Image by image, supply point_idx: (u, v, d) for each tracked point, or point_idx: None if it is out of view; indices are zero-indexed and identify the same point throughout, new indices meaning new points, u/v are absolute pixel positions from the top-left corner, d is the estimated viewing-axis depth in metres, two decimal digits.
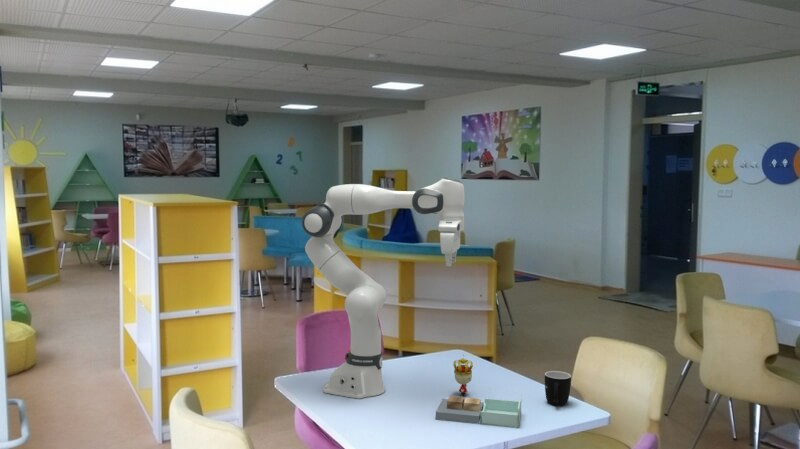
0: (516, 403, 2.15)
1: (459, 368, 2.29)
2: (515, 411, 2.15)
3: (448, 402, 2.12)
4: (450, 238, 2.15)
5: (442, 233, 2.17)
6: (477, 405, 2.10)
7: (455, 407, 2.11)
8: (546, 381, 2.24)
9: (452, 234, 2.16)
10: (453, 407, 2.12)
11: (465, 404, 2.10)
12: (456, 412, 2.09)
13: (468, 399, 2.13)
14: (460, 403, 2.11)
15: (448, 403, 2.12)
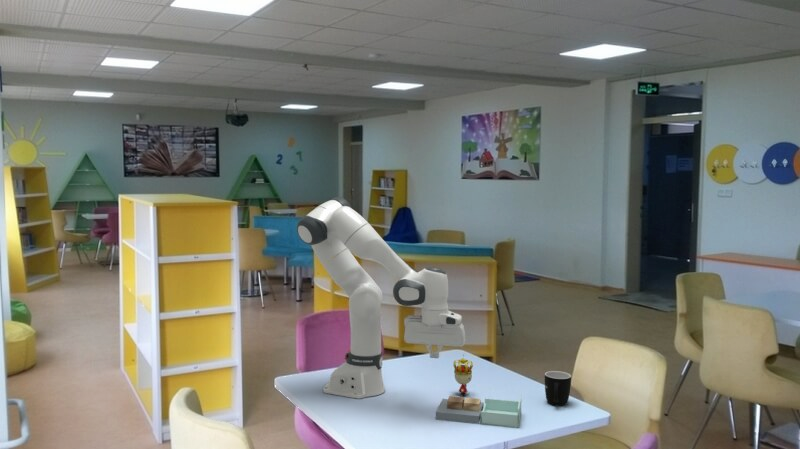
0: (516, 403, 2.15)
1: (459, 368, 2.29)
2: (515, 411, 2.15)
3: (448, 402, 2.12)
4: None
5: (460, 326, 2.10)
6: (477, 405, 2.10)
7: (455, 407, 2.11)
8: (546, 381, 2.24)
9: (462, 324, 2.13)
10: (453, 407, 2.12)
11: (465, 404, 2.10)
12: (456, 412, 2.09)
13: (468, 399, 2.13)
14: (460, 403, 2.11)
15: (448, 403, 2.12)
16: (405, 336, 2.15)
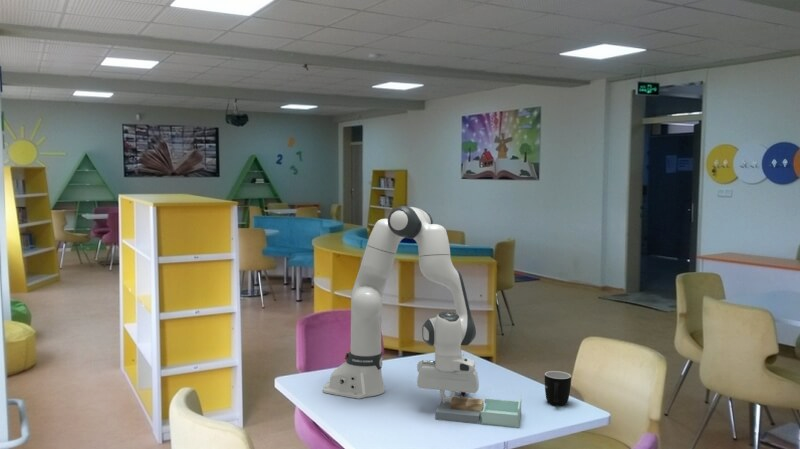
0: (516, 403, 2.15)
1: None
2: (515, 411, 2.15)
3: (452, 402, 2.12)
4: (477, 374, 2.13)
5: (473, 372, 2.10)
6: (479, 405, 2.09)
7: (459, 407, 2.11)
8: (546, 381, 2.24)
9: (475, 370, 2.13)
10: (456, 407, 2.11)
11: (467, 404, 2.10)
12: (456, 412, 2.09)
13: (470, 400, 2.13)
14: (464, 403, 2.11)
15: (452, 403, 2.12)
16: (418, 381, 2.14)
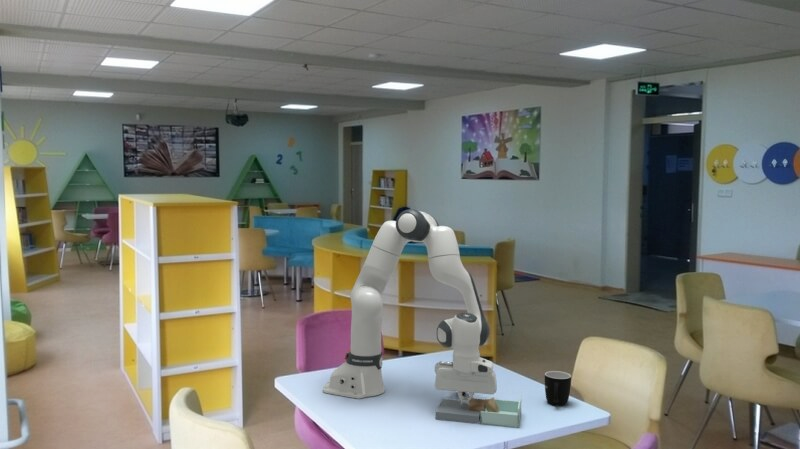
0: (516, 403, 2.15)
1: None
2: (515, 411, 2.15)
3: (470, 404, 2.10)
4: (495, 375, 2.11)
5: (492, 373, 2.09)
6: None
7: (477, 409, 2.10)
8: (546, 381, 2.24)
9: (493, 371, 2.12)
10: (475, 409, 2.10)
11: (491, 404, 2.08)
12: (456, 412, 2.09)
13: (494, 402, 2.11)
14: (482, 405, 2.09)
15: (470, 405, 2.10)
16: (436, 383, 2.13)
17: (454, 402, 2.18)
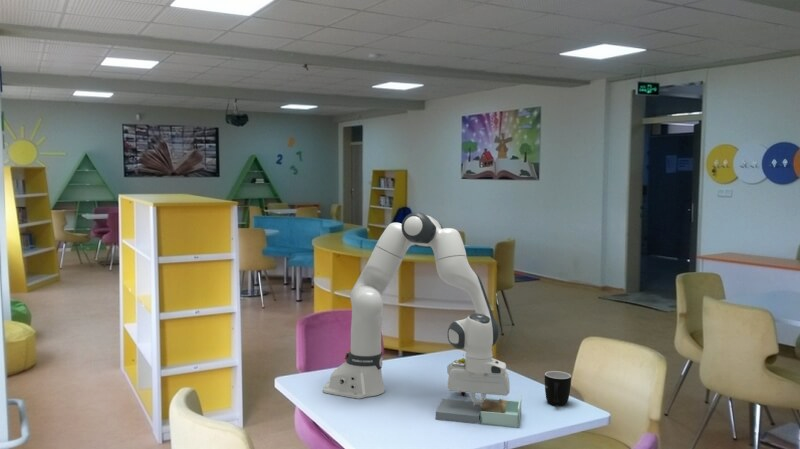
0: (516, 403, 2.15)
1: None
2: (515, 411, 2.15)
3: (483, 405, 2.09)
4: (508, 377, 2.10)
5: (505, 375, 2.08)
6: None
7: (490, 411, 2.09)
8: (546, 381, 2.24)
9: (506, 372, 2.11)
10: (487, 411, 2.09)
11: (503, 406, 2.07)
12: (456, 412, 2.09)
13: None
14: (495, 408, 2.08)
15: (483, 406, 2.09)
16: (448, 384, 2.12)
17: (454, 402, 2.18)
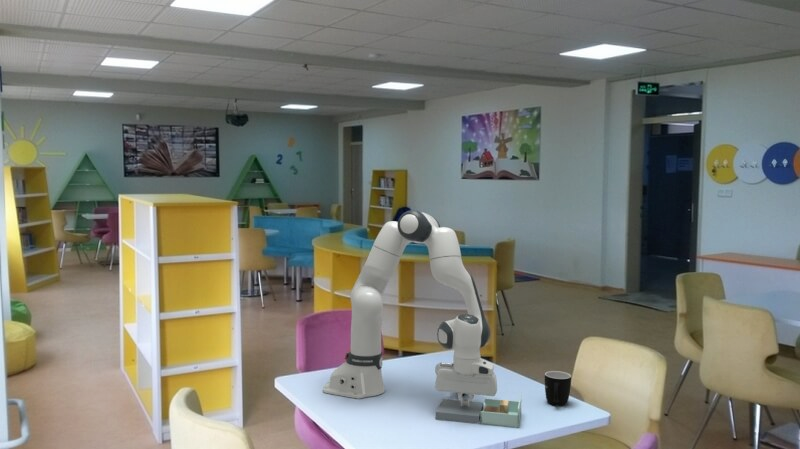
0: (516, 403, 2.15)
1: None
2: (515, 411, 2.15)
3: None
4: (495, 377, 2.11)
5: (492, 375, 2.09)
6: None
7: None
8: (546, 381, 2.24)
9: (494, 373, 2.12)
10: None
11: (505, 407, 2.07)
12: (456, 412, 2.09)
13: (508, 405, 2.10)
14: None
15: None
16: (436, 384, 2.13)
17: (454, 402, 2.18)
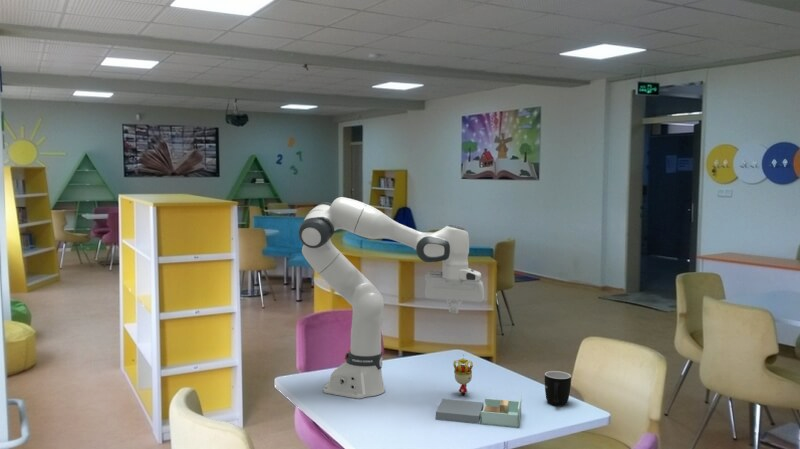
0: (516, 403, 2.15)
1: (459, 368, 2.29)
2: (515, 411, 2.15)
3: None
4: None
5: (479, 282, 2.18)
6: None
7: None
8: (546, 381, 2.24)
9: (481, 281, 2.21)
10: None
11: (505, 407, 2.07)
12: (456, 412, 2.09)
13: (508, 405, 2.10)
14: None
15: None
16: (426, 291, 2.22)
17: (454, 402, 2.18)
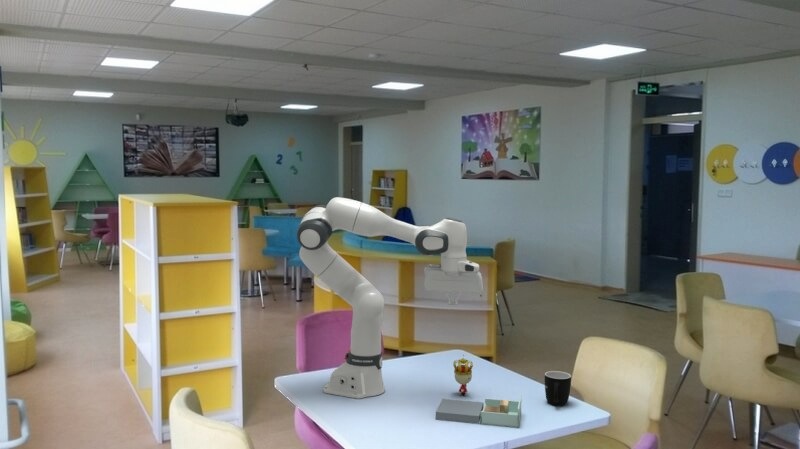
0: (516, 403, 2.15)
1: (459, 368, 2.29)
2: (515, 411, 2.15)
3: None
4: (481, 276, 2.23)
5: (478, 273, 2.20)
6: None
7: None
8: (546, 381, 2.24)
9: None
10: None
11: (505, 407, 2.07)
12: (456, 412, 2.09)
13: (508, 405, 2.10)
14: None
15: None
16: (425, 284, 2.25)
17: (454, 402, 2.18)
